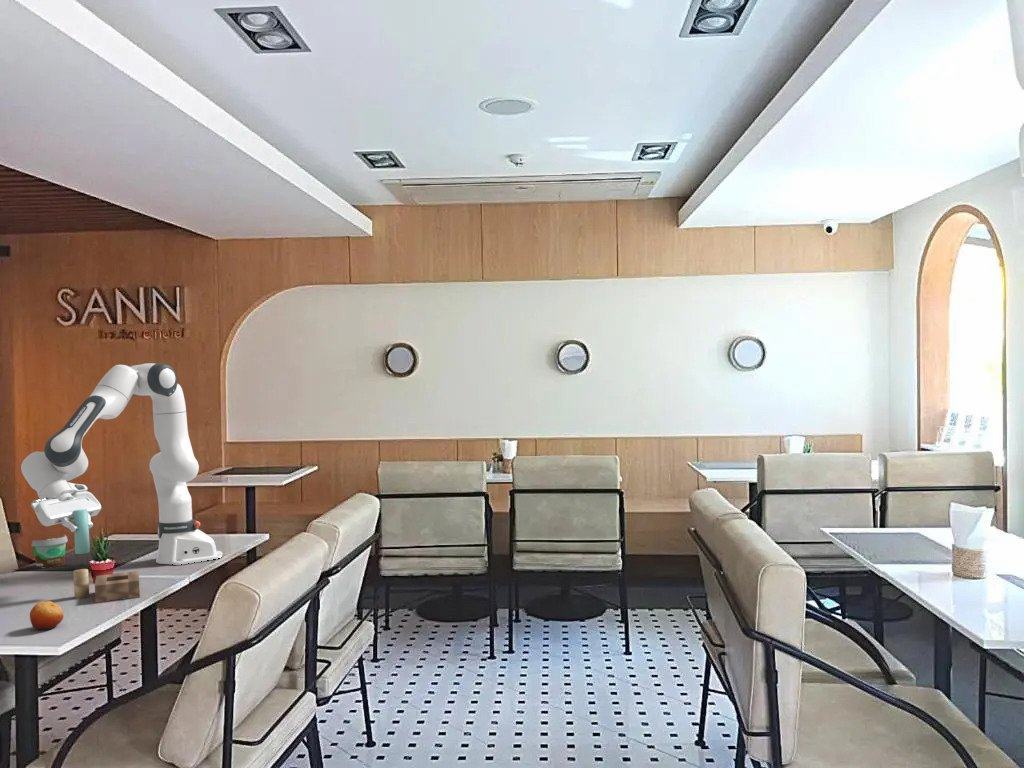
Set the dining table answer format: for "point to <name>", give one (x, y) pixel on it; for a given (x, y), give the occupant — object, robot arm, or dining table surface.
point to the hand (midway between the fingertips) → (83, 528)
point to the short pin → (81, 583)
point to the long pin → (81, 531)
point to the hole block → (117, 586)
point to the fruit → (46, 615)
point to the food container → (50, 551)
